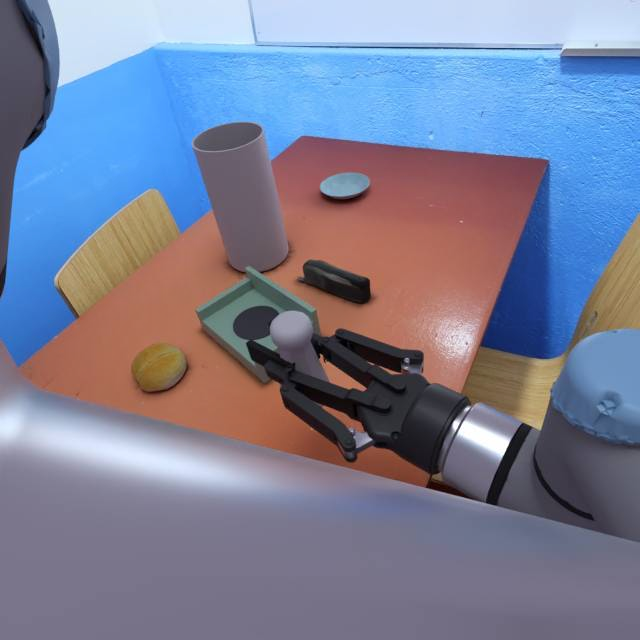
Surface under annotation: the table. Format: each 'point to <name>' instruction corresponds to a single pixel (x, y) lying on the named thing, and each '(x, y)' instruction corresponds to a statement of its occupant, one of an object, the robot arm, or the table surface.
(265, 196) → the cylinder vase
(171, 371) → the bread roll
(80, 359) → the table surface
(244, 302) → the green tray with hole
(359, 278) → the black stapler
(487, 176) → the table surface
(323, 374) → the salt shaker
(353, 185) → the saucer
